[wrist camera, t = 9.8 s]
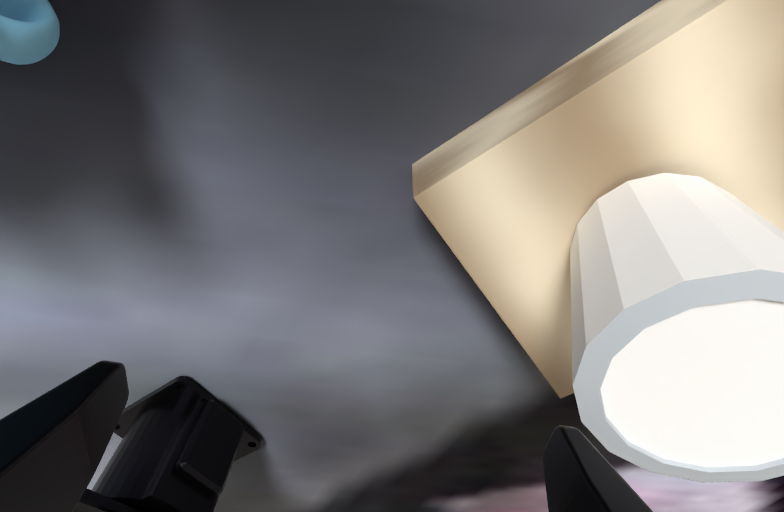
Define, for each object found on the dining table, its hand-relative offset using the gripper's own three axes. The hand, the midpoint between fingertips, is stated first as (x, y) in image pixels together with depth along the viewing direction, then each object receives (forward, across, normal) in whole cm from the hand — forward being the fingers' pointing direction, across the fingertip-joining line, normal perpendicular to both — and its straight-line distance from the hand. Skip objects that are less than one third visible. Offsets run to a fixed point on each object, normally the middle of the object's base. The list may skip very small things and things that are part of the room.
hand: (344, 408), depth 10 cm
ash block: (+13, -10, -1) cm, 16 cm away
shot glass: (+8, -10, -1) cm, 13 cm away
